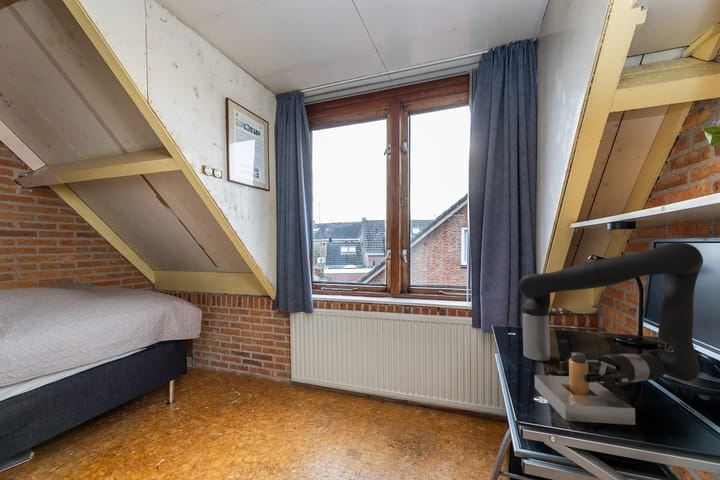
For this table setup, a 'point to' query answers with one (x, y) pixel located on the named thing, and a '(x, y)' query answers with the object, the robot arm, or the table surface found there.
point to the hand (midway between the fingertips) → (572, 371)
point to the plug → (578, 374)
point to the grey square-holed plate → (584, 402)
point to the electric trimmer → (558, 373)
